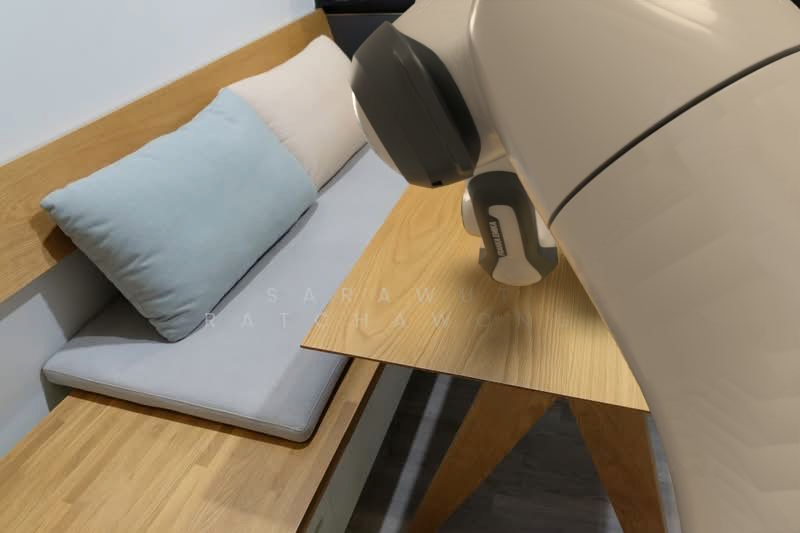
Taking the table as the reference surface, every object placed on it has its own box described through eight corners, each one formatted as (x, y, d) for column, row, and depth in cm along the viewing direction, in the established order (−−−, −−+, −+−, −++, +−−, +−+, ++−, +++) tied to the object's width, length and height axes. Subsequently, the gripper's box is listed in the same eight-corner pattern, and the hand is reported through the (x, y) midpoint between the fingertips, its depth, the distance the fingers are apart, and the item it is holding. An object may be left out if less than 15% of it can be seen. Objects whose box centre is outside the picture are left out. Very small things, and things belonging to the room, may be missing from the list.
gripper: (583, 233, 66) (702, 235, 64) (570, 162, 82) (665, 161, 80) (577, 272, 70) (689, 276, 67) (566, 197, 86) (657, 197, 83)
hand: (676, 213), depth 74 cm, fingers closed on doll, 5 cm apart
